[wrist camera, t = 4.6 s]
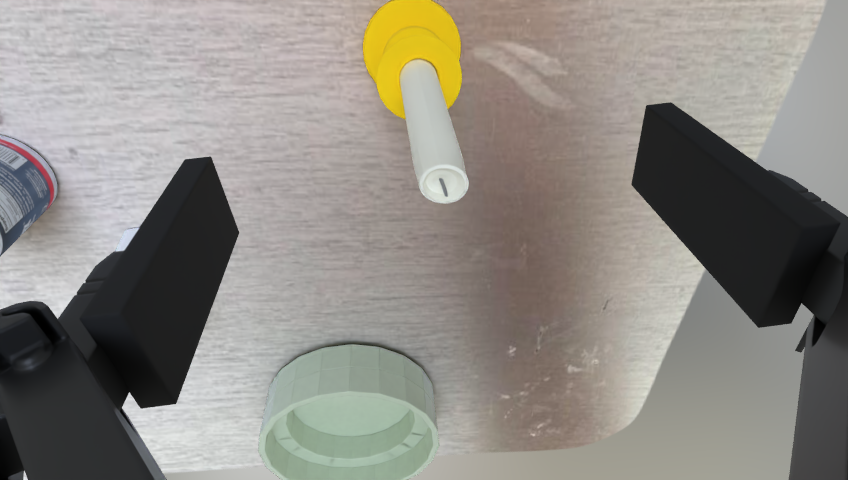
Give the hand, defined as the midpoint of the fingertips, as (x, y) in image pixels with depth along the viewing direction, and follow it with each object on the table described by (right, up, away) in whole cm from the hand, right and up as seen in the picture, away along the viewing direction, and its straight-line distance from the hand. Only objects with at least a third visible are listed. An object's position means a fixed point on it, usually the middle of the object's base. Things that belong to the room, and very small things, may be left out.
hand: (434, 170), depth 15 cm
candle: (-1, +8, +11) cm, 14 cm away
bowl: (-7, -16, +28) cm, 33 cm away
